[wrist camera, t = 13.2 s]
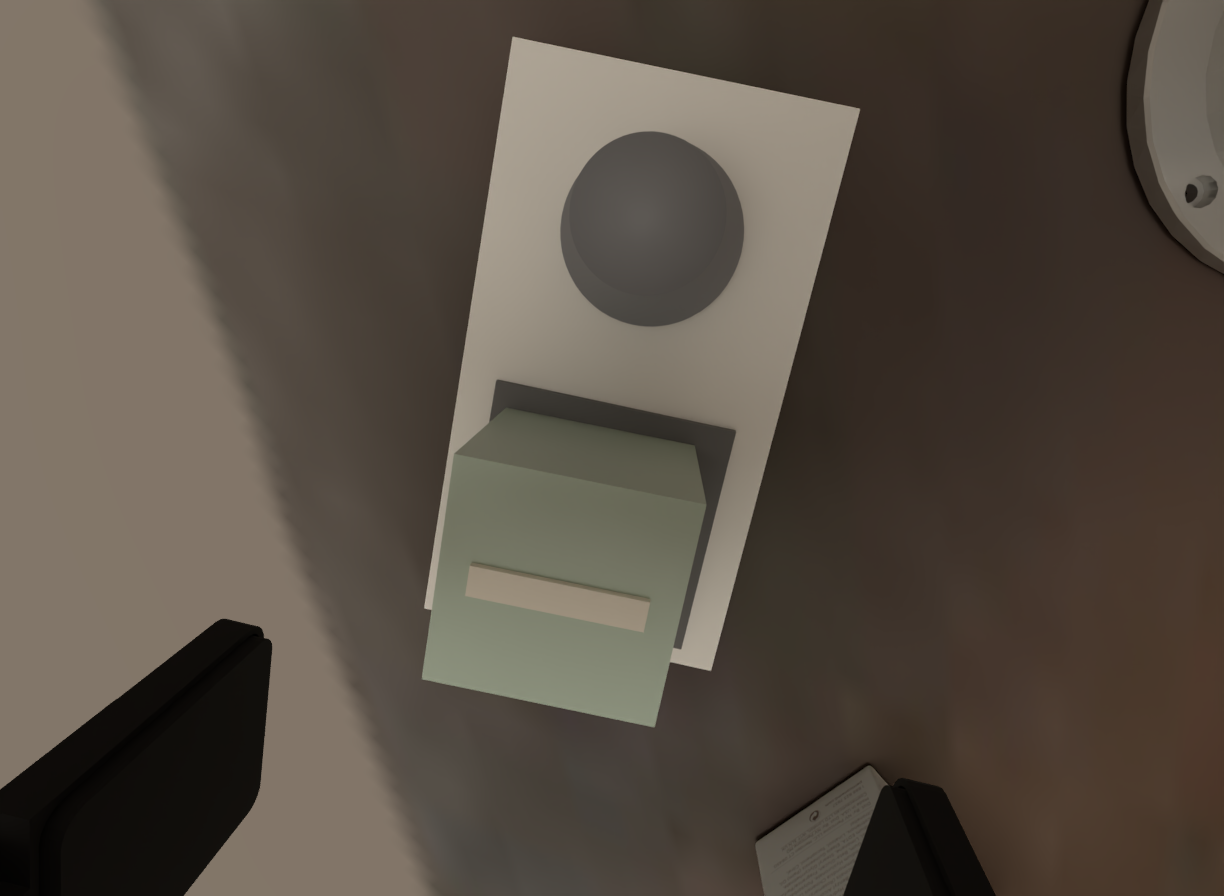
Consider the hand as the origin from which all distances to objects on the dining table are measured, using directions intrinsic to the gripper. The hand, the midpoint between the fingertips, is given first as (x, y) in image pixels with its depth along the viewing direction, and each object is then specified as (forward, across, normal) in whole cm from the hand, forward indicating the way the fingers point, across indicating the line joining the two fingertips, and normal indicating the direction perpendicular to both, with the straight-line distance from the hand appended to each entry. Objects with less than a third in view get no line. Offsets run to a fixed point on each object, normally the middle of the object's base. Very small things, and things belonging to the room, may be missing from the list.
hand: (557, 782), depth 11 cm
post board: (+15, +1, -4) cm, 15 cm away
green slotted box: (+13, +1, +1) cm, 13 cm away
